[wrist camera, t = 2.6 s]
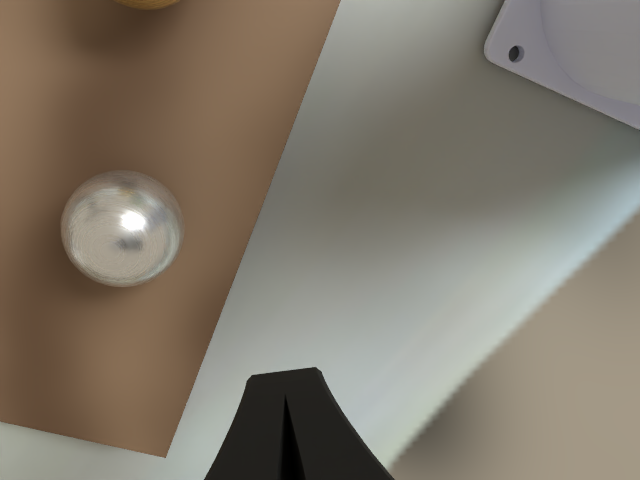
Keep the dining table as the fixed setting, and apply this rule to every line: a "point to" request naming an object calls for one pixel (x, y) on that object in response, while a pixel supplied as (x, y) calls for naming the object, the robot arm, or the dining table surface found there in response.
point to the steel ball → (122, 228)
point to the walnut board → (144, 157)
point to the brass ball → (147, 4)
